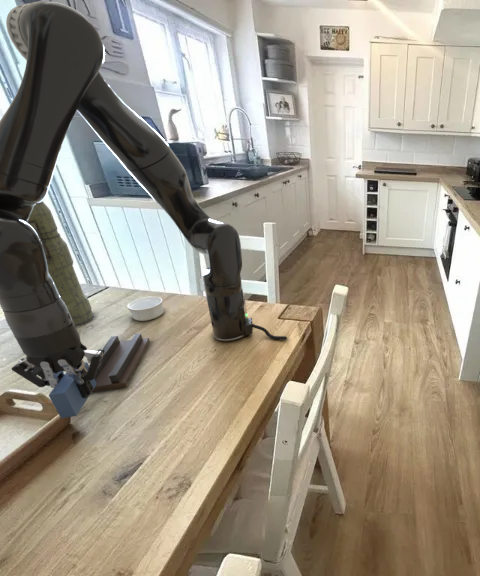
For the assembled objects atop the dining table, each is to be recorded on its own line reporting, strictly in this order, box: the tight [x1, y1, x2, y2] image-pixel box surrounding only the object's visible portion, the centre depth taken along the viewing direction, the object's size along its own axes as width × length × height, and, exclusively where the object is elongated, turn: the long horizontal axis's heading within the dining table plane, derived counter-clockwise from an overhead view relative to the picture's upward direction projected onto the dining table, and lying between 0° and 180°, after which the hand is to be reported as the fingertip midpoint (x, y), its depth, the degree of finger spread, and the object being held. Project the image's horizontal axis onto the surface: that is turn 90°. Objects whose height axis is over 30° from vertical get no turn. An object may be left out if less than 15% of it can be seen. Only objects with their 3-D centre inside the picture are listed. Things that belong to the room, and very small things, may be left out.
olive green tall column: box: [27, 200, 95, 327], centre depth 88 cm, size 9×12×35 cm
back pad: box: [48, 361, 97, 419], centre depth 64 cm, size 2×9×6 cm, turn 18°
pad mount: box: [91, 333, 151, 394], centre depth 79 cm, size 9×18×4 cm, turn 18°
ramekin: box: [126, 295, 164, 322], centre depth 100 cm, size 9×9×4 cm
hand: (78, 396), depth 65 cm, fingers closed on back pad, 2 cm apart
